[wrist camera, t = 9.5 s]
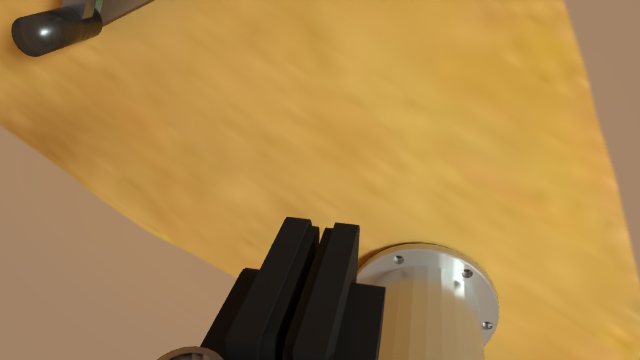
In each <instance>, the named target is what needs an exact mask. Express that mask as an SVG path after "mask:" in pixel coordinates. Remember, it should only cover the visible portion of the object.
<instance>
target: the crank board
mask: <svg viewBox="0 0 640 360" xmlns="http://www.w3.org/2000/svg"><path fill="white" fill-rule="evenodd" d="M152 1H154V0H97V1H96V5H95V8H96V9H97V10H98V12H99V13H100V15H101V18H102V23H103V25H102V27H103V26H105V25H107V24H109V23H111V22H113V21H115V20H117V19H119V18H121V17H123V16H125V15H127V14H129V13H131V12H133V11H135V10H137V9H139V8H140V7H142V6H144V5H146V4H148V3H150V2H152Z"/></svg>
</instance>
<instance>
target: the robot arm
mask: <svg viewBox="0 0 640 360" xmlns="http://www.w3.org/2000/svg"><path fill="white" fill-rule="evenodd" d="M359 232H360V227H359V225H353V224H344V223H335V225H334V227H333V228H325V230H324V233H323V235H322V238H321V241H320V244H319V227H316V226H312V223H311V220H310V219H302V218H294V217H286V219H285V220H284V222H283V224H282V226H281V228H280V230H279V232H278V234H277V236H276V238H275V240H274V242H273V244H272V246H271V248H270V250H269V252H268V254H267V256H266V258H265V260H264V262H263V264H262V266H261V268H260V270H258V269H251V268H245V269H243V270H242V272H241V273H240V275H239V277H238V278H237V280H236V282H235V284H234V286H233V288H232V289H231V291H230V293H229V295H228V297H227V298H226V300H225V303H224V304H223V306H222V308H221V309H220V311H219V313H218V315H217V317H216V318H215V320H214V322H213V324H212V326H211V328H210V330H209V331H208V333H207V335H206V337H205V339H204V340H203V342H202V344H201V346H200V347H196V346H194V347H183V348H180V349H176V350H173V351H171V352H169V353H167V354H165V355H163V356H161V357H160V358H159V359H158V360H485V356H484V346H485V345H486V344H487V343H488V342H489V341H490V339H491V338H492V336H493V334H494V332H495V330H496V328H497V324H498V320H499V304H498V298H497V294H496V291H495V288H494V285H493V283H492V282H491V280H490V279H489V277H488V276H487V274H486V273H485V272H484V271H483V270H482V269H481V268H480V267H479V266H478V265H477V264H476V263H475V262H474V261H472V260H471V259H469V258H468V257H466V256H465V255H463V254H461V253H459V252H456V251H454V250H452V249H449V248H446V247H442V246H438V245H432V244H424V243H416V244H404V245H399V246H394V247H391V248H388V249H386V250H383V251H381V252H379V253H377V254H376V255H374V256H373V257H371V258H369V259H368V260H367V261H366V262H365V263H364V264H363V265H362V266H361V267H360V268H359V270H358V271H357V267H358V250H359Z"/></svg>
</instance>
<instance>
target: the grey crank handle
mask: <svg viewBox="0 0 640 360" xmlns="http://www.w3.org/2000/svg"><path fill="white" fill-rule="evenodd" d="M96 1H97V0H62V4H61V8H57V9H53V10H49V11H45V12H41V13H36V14H32V15H28V16H24V17H20V18H18V19H16V20H15V21H14V23H13V25H12V37H13V40H14V42H15V44H16V45H17V47H18V48H19V49H20V50H21V51H22V52H23V53H25V54H27V55H29V56H32V57H38V56H41V55H44V54H47V53H50V52H52V51H55V50H58V49H61V48H64V47H67V46H70V45H72V44H75V43H78V42H81V41H84V40H87V39H89V38H92V37H95V36H97V35H98V34H99V33H100V32H101V30H102V25H103V23H102V18H101V15H100V13H99V12H98V10H97V9H96V8H95V5H96Z"/></svg>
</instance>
